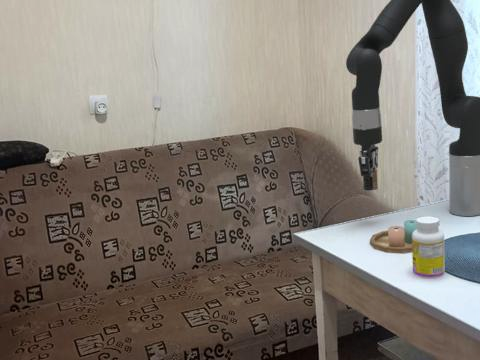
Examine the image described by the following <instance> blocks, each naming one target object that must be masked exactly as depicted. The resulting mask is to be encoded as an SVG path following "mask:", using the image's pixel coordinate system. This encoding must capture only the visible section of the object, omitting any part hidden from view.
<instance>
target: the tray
mask: <svg viewBox="0 0 480 360" xmlns="http://www.w3.org/2000/svg"><path fill="white" fill-rule="evenodd" d="M369 244H370V246H371V248H373V249H375V250H377V251H379V252H383V253H387V254H388V253H389V254H411V253H412V244H408V243H405V247H402V248H401V247H389V239H388V230H382V231H380V232H377V233H374V234H372V235H371V237H370V239H369Z"/></svg>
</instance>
